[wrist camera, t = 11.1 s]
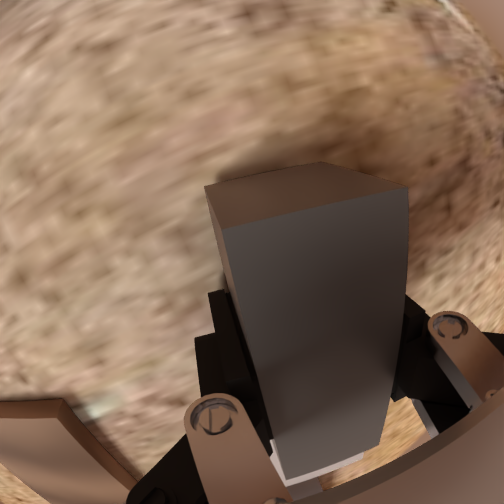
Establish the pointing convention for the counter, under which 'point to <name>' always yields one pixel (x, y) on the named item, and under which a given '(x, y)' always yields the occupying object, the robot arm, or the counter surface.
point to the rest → (59, 455)
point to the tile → (305, 489)
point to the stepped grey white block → (317, 304)
